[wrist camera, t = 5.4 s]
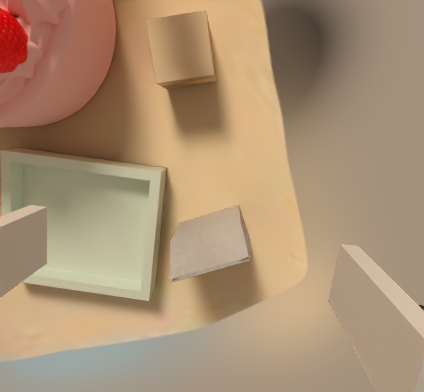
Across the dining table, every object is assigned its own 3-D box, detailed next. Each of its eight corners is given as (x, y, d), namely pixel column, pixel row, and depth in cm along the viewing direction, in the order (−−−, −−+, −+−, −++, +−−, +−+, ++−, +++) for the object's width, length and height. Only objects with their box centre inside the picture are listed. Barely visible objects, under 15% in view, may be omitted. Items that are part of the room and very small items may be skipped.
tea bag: (180, 222, 36) (161, 260, 26) (238, 204, 35) (242, 236, 25) (191, 252, 37) (176, 300, 27) (248, 235, 36) (255, 278, 26)
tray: (20, 267, 38) (2, 279, 35) (19, 147, 35) (0, 150, 32) (155, 287, 38) (148, 300, 35) (166, 167, 34) (161, 172, 32)
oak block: (167, 88, 33) (156, 83, 28) (159, 35, 32) (146, 20, 27) (216, 81, 32) (213, 74, 28) (209, 27, 31) (205, 10, 26)
